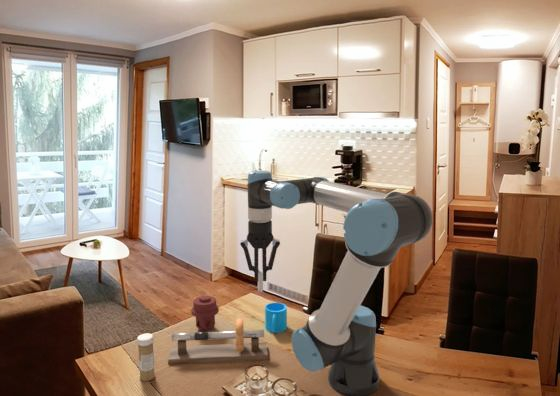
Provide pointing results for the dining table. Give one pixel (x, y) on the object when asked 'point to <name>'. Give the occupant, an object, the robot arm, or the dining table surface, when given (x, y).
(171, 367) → the dining table surface
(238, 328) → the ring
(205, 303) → the mechanical component
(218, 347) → the stand
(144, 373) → the sprinkles bottle
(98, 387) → the dining table surface
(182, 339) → the rod
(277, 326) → the mug
